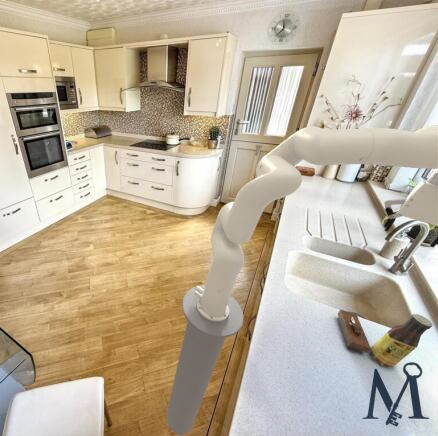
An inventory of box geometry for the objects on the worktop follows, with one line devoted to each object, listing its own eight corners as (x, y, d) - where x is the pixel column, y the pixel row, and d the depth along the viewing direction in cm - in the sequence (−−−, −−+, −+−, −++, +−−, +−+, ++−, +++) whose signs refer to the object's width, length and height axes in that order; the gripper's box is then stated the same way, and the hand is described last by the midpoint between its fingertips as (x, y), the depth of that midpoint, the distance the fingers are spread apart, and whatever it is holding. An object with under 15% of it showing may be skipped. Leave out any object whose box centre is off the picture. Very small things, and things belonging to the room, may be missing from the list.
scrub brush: (334, 317, 88) (342, 306, 85) (350, 322, 87) (359, 311, 83) (345, 350, 77) (355, 339, 74) (363, 356, 75) (374, 345, 72)
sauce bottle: (373, 364, 73) (413, 324, 63) (364, 346, 78) (400, 307, 68) (398, 372, 71) (443, 332, 62) (387, 353, 77) (427, 314, 67)
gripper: (502, 189, 56) (451, 247, 64) (404, 169, 67) (372, 220, 75) (508, 197, 51) (452, 257, 60) (402, 174, 62) (368, 228, 71)
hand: (407, 237), depth 67 cm, fingers open, 9 cm apart
